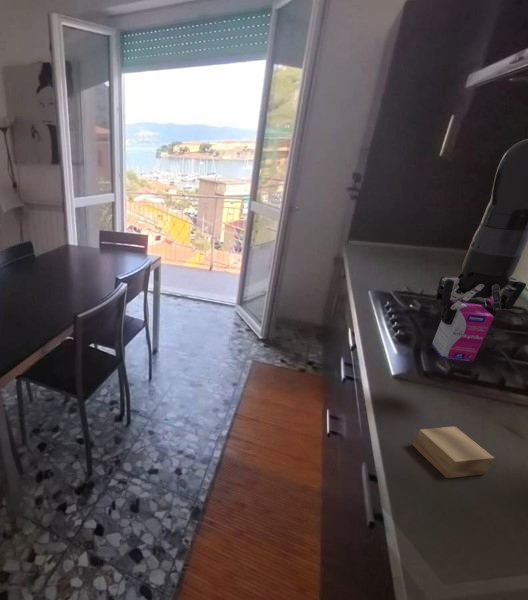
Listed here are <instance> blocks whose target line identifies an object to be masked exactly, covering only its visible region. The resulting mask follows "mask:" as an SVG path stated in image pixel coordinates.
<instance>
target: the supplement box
mask: <svg viewBox="0 0 528 600" xmlns="http://www.w3.org/2000/svg"><path fill="white" fill-rule="evenodd" d="M483 307H484V306H482V305H481V304H475V303H467V302H464V303H462V304H461V305H460V306H459V307H458V308H457V309H456V310H457V312H456V314H455V317H454V319H453V322H452V324H451V325H446V324H445V323H443V322H442V320H441V319H440V322H439V325H438V328H437V329H436V330H437V331H436V333H435V335H434V337H433V340H432V343H431V347H432V348H433V349H434V351H435V352H436V354H437V355H438V356H439V358H441V359H447V360H449V359H450V360H456V361H464V362H469V363H473V362H474V361H475V358H476V356H477V354H478V352H479V350H480V348H481V346H482V344H483V341H484V339H485V337H486V335H487V333H488V331H489V328H490V326H491V325H492V323H493V322H492V320H493V318H494V316H493V315H492V314H490V313H489V312H488V311H487V310H486V309H485V308H483ZM494 319H495V318H494ZM493 321H494V320H493ZM491 322H492V323H491Z"/></svg>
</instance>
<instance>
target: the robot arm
mask: <svg viewBox="0 0 528 600" xmlns="http://www.w3.org/2000/svg"><path fill="white" fill-rule="evenodd" d="M491 189H492V190H491V195H490V199H489V200H488V201H489V202H488V203H487V205H486V208H485V209H484V213H483V215H482V218H481V220H480V223H479V224H478V228H477V229H476V230H475V232H474V234H473V237H472V239H471V242H470V244H469V247H468V249H467V252H466V255H465V257H464V259H463V262H462V265H461V272H460V273H459V274H458V275H457V276H455V277H448V276H447V275H441V276H440V278H439V281H438V285H437V291H436V296H435V302H436V303H437V304H439V305H440V306H442V307H443V308H442V311H441V315H440V317H439V318H440V321H441V320H442V322H443V323H445V324H446V325H451V324H452V322H453V319H454V317H455V314H456V312H457V310H456V309H457V308H458V307H459V306H460V305H461V304H462V303H468V302H469V300H470V299H476V298H481V299H483V300H484V305H485V307H484V306H482V307H483V308H485V309H486V310H487V311H488V312H489V313H490V314H492V315H493V316H494V318H493V320H492V322H491V324H492V323H493V322H494V320H495V317H496V316H497V313H499V312H500V311H501V310H509V311H510V310H511V309H513V307H514V305H515V304H516V303H517V301H518V299H519V297H520V296H521V295H522V293H523V292H524V290H525V288H526V287H527V283H525V282H523V281H522V280H520V279H517V278H511V279H510V277H512V276H513V275H514V273H515V271H516V269H517V268H518V265H519V263H520V260H521V258H522V257H523V254H524V252H525V250H526V248H527V245H528V138H526V139H523V140H520V141H518V142H516V143H515V144H513V145H512V146H510V147H509V148H508V149H507V150H506V151H505V153H504V154H503V155H502V157H501V159H500V162H499V164H498V166H497V169H496V172H495V176H494V181H493V184H492V188H491ZM456 285H457V287H456ZM502 290H503V291H502ZM500 291H502V292H501V293H500ZM461 294H462V295H461Z"/></svg>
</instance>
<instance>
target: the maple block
mask: <svg viewBox="0 0 528 600" xmlns="http://www.w3.org/2000/svg"><path fill="white" fill-rule="evenodd" d="M412 447H414V448H415V450H417V451H418V453H420V454H421V455H422V456H423V457H424V458H425V459H426V460H427V461H428V462H429V463H430V464H431V465H432V466H433V467H434V468H435V469H436V470H437V471H438V472H439V473H440V474H441V475H442V476H443V477H445V478H446V479H453V478H462V477H472V476H473V477H474V476H482V475H483V476H484V475H486V473H487V471H488V469H489V468H490V466H491V465H492V463H493V461H494V460H495V456H493V455H492V454H491V453H489V452H488V451H487V450H486V449H484V448H483V447H482V446H480V445H479V444H478V443H477V442H476V441H474V440H473V439H472V438H470V437H469V436H468V435H467V434H466V433H464V432H463V431H462V430H461V429H459V428H458V427H457V426H456V425H454V426H443V427H441V426H440V427H432V428H421V429H419V430H418V432H417V434H416V436H415V438H414V441H413V443H412Z"/></svg>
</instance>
